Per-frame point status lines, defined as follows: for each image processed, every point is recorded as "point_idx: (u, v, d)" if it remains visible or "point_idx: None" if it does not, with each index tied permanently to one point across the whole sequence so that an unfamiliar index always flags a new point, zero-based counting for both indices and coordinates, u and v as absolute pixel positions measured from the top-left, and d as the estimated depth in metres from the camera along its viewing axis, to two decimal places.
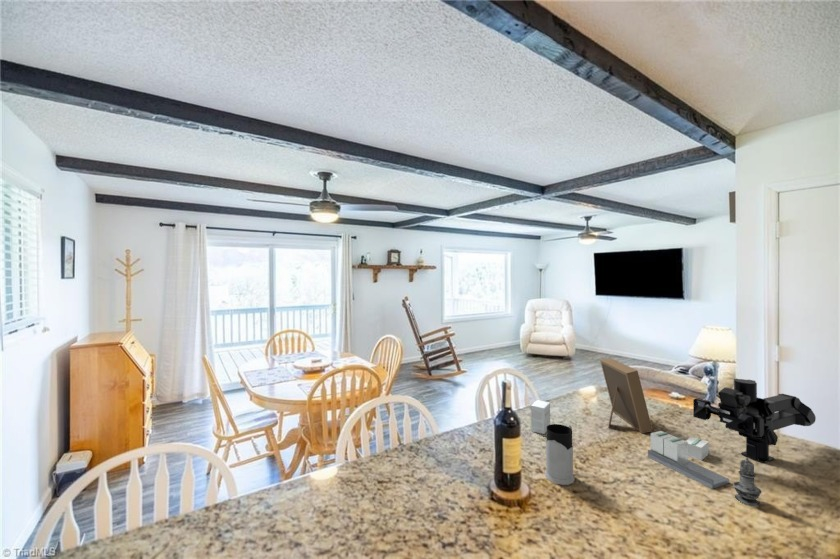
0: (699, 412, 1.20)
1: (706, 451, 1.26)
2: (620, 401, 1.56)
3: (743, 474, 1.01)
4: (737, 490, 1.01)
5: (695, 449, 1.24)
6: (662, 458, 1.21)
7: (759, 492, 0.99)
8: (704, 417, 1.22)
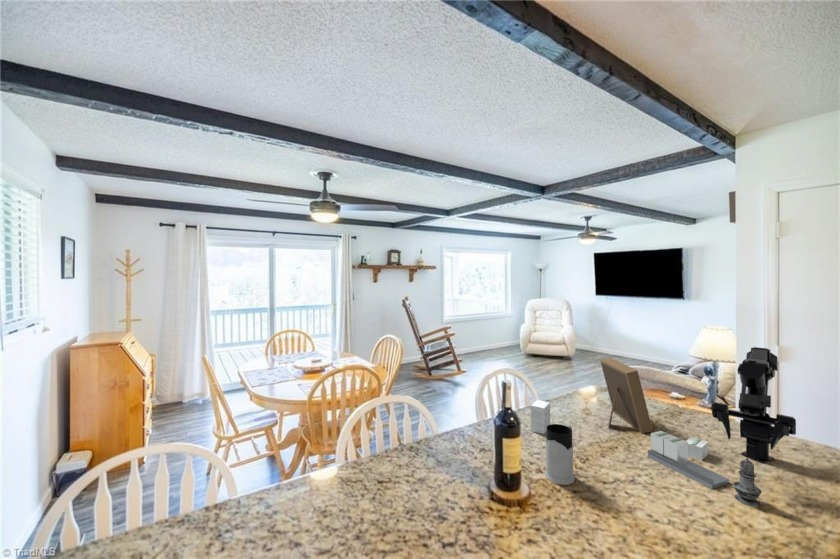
0: (729, 429, 1.11)
1: (706, 451, 1.26)
2: (620, 401, 1.56)
3: (743, 474, 1.01)
4: (737, 490, 1.01)
5: (696, 449, 1.24)
6: (662, 458, 1.21)
7: (759, 492, 0.99)
8: (729, 423, 1.14)
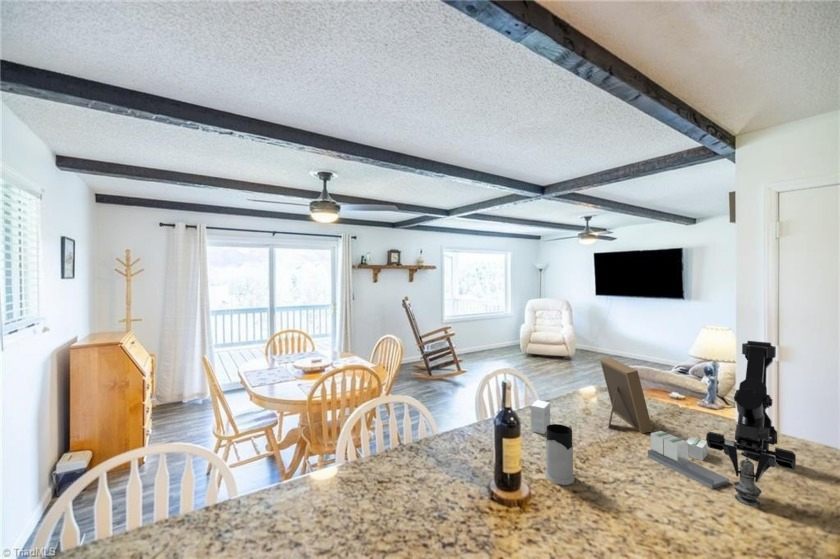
0: (737, 465, 1.03)
1: (706, 451, 1.26)
2: (620, 401, 1.56)
3: (743, 474, 1.01)
4: (737, 490, 1.01)
5: (696, 449, 1.24)
6: (662, 458, 1.21)
7: (759, 492, 0.99)
8: (737, 457, 1.06)
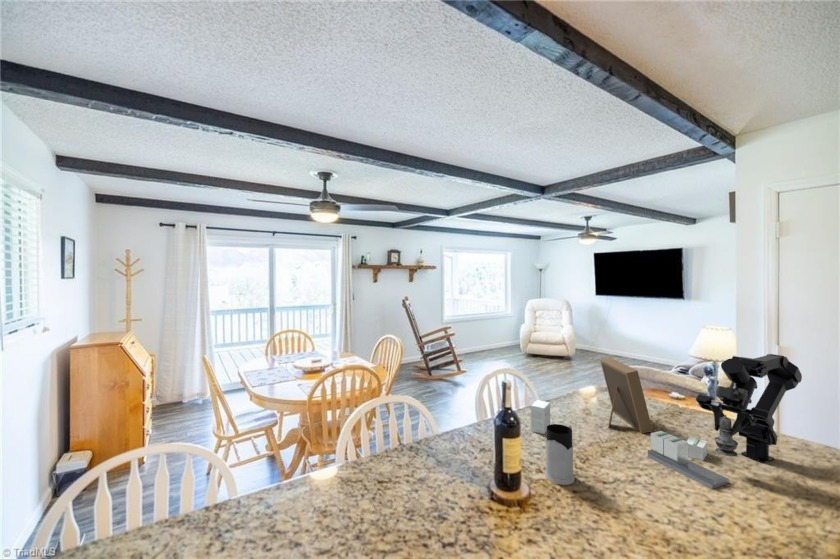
0: (718, 421, 1.17)
1: (706, 451, 1.26)
2: (620, 401, 1.56)
3: (720, 428, 1.15)
4: (716, 442, 1.16)
5: (697, 450, 1.24)
6: (662, 458, 1.21)
7: (734, 444, 1.12)
8: (723, 416, 1.19)
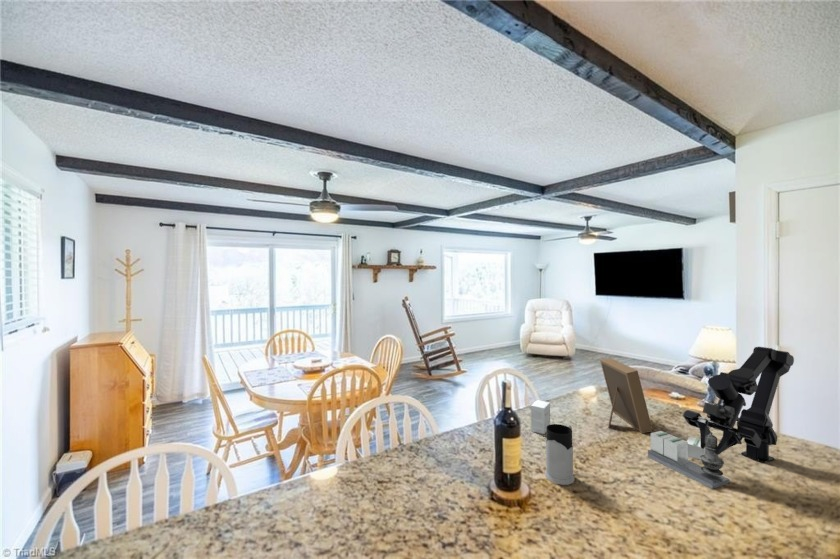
0: (704, 439, 1.14)
1: None
2: (620, 401, 1.56)
3: (706, 446, 1.12)
4: (701, 460, 1.13)
5: (697, 450, 1.24)
6: (662, 458, 1.21)
7: (720, 463, 1.09)
8: None
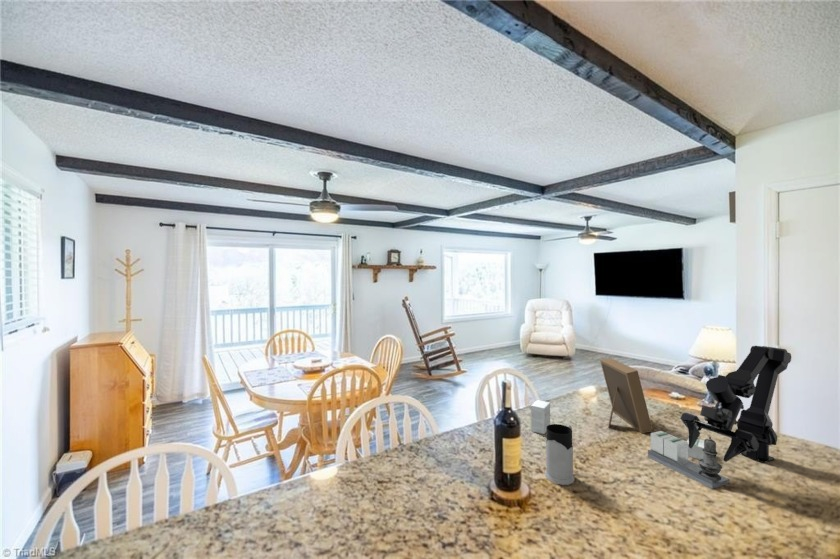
0: (692, 439, 1.16)
1: None
2: (620, 401, 1.56)
3: (704, 451, 1.11)
4: (699, 465, 1.12)
5: (698, 450, 1.24)
6: (662, 458, 1.21)
7: (718, 468, 1.09)
8: (698, 434, 1.18)
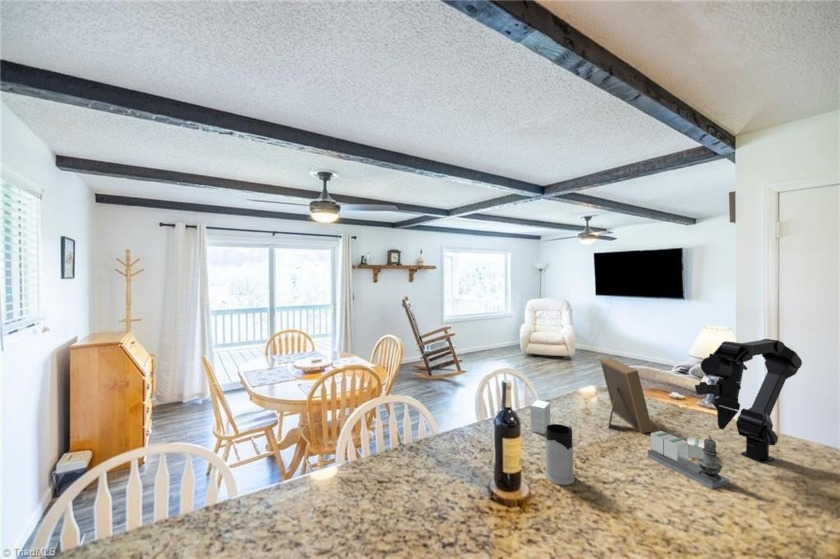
0: None
1: None
2: (620, 401, 1.56)
3: (704, 451, 1.11)
4: (699, 465, 1.12)
5: (698, 450, 1.23)
6: (662, 458, 1.21)
7: (718, 468, 1.09)
8: None
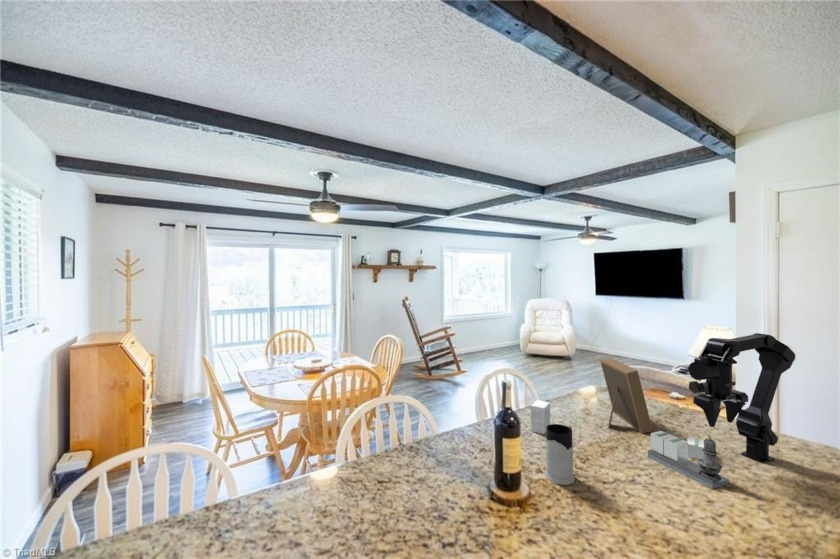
0: (727, 413, 1.22)
1: None
2: (620, 401, 1.56)
3: (704, 451, 1.11)
4: (699, 465, 1.12)
5: (699, 450, 1.23)
6: (662, 458, 1.21)
7: (718, 468, 1.09)
8: (736, 406, 1.20)
